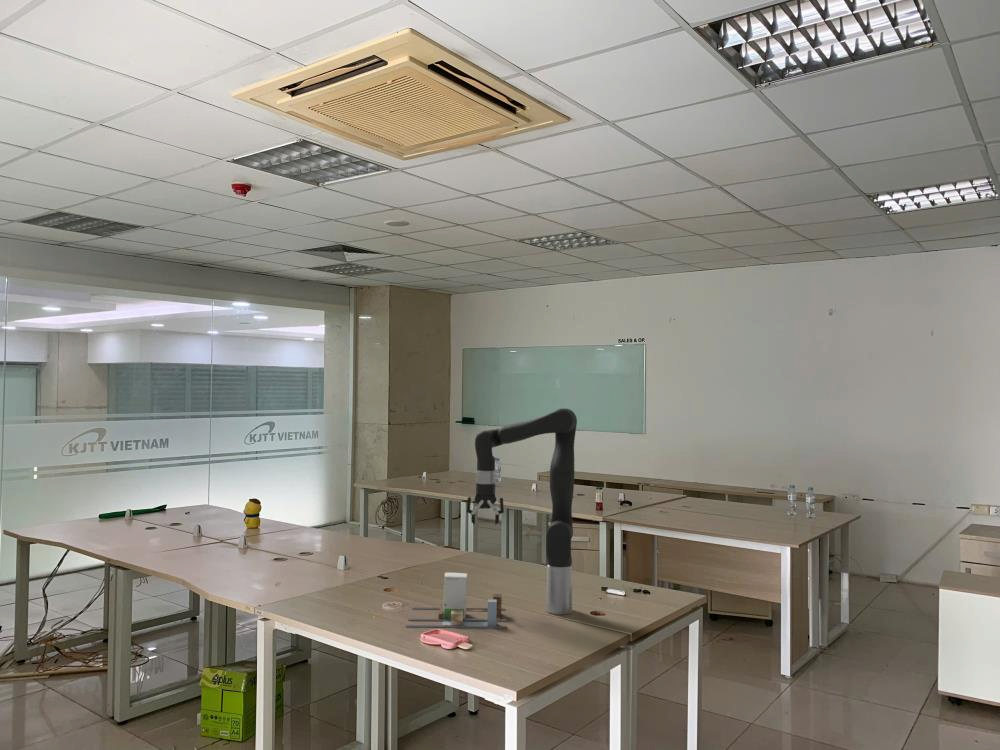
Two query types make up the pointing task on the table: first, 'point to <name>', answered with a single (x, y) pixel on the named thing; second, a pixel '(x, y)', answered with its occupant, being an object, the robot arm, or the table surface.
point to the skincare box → (454, 593)
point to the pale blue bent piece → (491, 616)
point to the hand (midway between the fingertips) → (485, 524)
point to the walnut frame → (498, 615)
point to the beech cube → (457, 617)
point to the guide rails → (450, 620)
